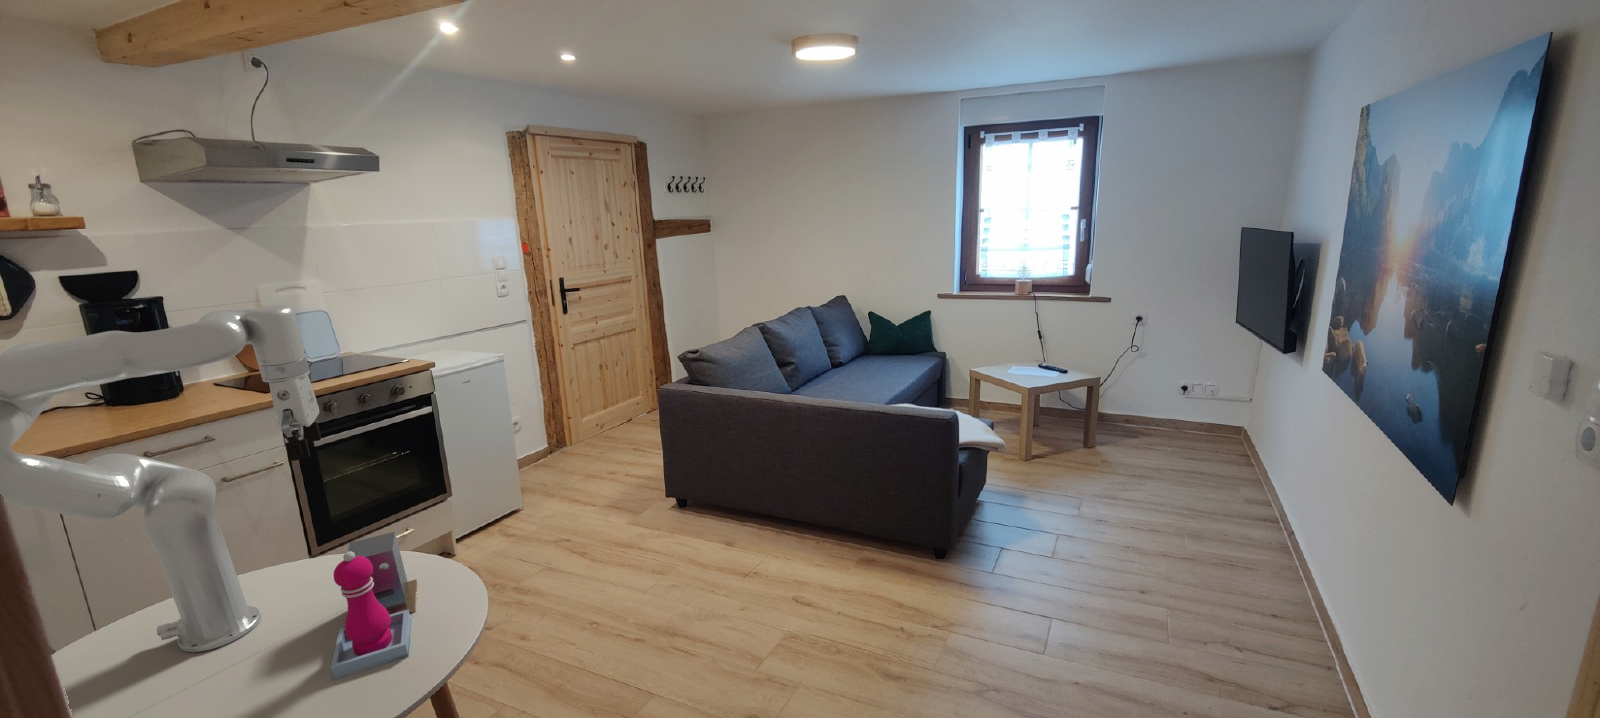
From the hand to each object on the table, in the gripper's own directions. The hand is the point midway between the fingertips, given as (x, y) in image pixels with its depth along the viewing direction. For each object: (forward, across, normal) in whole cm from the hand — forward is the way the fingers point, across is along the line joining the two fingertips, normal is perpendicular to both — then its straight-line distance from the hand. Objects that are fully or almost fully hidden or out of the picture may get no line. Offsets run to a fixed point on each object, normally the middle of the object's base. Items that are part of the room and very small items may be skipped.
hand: (306, 449), depth 136 cm
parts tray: (+33, -25, -9) cm, 42 cm away
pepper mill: (+32, -25, -9) cm, 42 cm away
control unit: (+33, -11, -9) cm, 36 cm away
